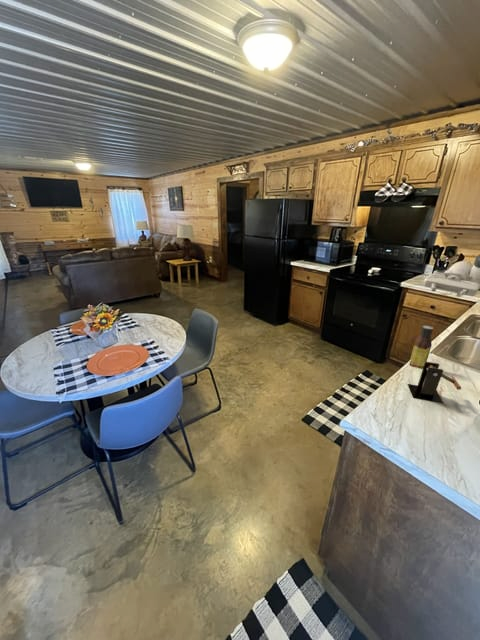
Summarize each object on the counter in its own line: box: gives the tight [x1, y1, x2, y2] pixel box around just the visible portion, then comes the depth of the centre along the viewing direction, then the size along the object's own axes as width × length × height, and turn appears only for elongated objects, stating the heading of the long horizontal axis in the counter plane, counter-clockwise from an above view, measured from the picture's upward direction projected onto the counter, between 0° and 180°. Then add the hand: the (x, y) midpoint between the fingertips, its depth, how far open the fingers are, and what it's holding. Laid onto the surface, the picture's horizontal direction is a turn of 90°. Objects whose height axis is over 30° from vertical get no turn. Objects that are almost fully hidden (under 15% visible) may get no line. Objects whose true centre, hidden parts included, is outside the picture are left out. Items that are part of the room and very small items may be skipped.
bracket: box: [407, 361, 444, 405], centre depth 100 cm, size 10×9×14 cm
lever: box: [426, 365, 462, 391], centre depth 98 cm, size 11×7×2 cm, turn 72°
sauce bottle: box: [409, 325, 434, 369], centre depth 118 cm, size 6×6×20 cm
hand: (445, 292), depth 118 cm, fingers open, 8 cm apart
